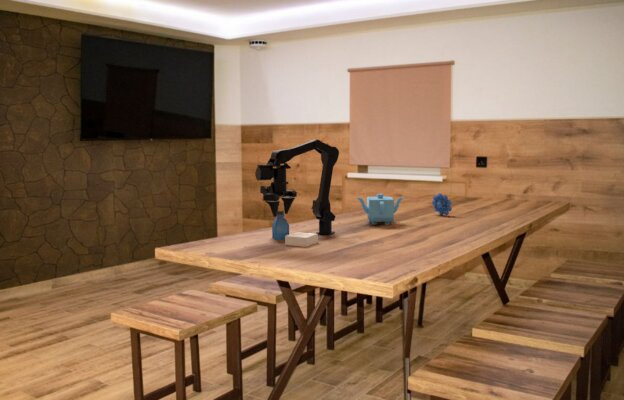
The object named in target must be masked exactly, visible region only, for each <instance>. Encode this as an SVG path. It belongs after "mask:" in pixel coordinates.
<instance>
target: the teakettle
mask: <svg viewBox="0 0 624 400" xmlns="http://www.w3.org/2000/svg"><path fill="white" fill-rule="evenodd" d="M405 198H406V197H405V196H404V197H402V196H401V197H398V198H397V199H396V201H395V199H394V198H393V197H391V196H385V195H384V193H377V194H376V196H367V199H366V200H367V205H366V203H365V200H364V198H362V197H356V199H357V200H358V201H359V202H360V204H361V207H362V210H363V212H364V213H365V214H367V219H368V221H369V223H370V226H371V225H372V226H373V225H374V226H375V225H377V224H378V223H379V222H381V223H384V224H385V225H387V226H389V225H392V223H391V222H395V218H394V217H395V213H396V212H397V211H398V210H399V207H400V203H401V201H402V200H403V199H405Z"/></svg>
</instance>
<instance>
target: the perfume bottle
mask: <svg viewBox="0 0 624 400" xmlns="http://www.w3.org/2000/svg"><path fill="white" fill-rule="evenodd" d="M284 217H285V211H284V210H278V212H277V215H276V217H274V219H273V221H272V223H271V234H272V237H271V238H272V239H273V240H274V241H285V236H286V235H290V224H289V221H287V219H286V218H284Z"/></svg>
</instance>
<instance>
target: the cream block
mask: <svg viewBox="0 0 624 400" xmlns="http://www.w3.org/2000/svg"><path fill="white" fill-rule="evenodd" d="M284 242H285V243H284V245H285V246H295V247H306V248H307V247H310V246H312V245H315V244H318V243H319V234H316V233H309V232H300V231H299V232H298V231H296V232H294V233H289V235H286V236H285V240H284Z"/></svg>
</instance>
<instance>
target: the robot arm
mask: <svg viewBox="0 0 624 400" xmlns="http://www.w3.org/2000/svg"><path fill="white" fill-rule="evenodd" d="M314 150H315V151H316V152H317V153H318V154H319V155H320V160H321V164H322V168H321V175H320V176H321V177H320V181H319V183H320V184H319V190H318V196H317V198H316V199H313V200H312V206H311V207H310V208H311V211H312V214H313V215H314V216H315V219H316V220H318V231H317V232H315V234H318V235H325V236H328V235H329V236H330V235H333V234H335V233H336V232H335V231H333V229H332V226H333V225H332V224H333V223H332V222H335V220H336V215H335V214H334V213H333V212H332V211H331V202H330V191H331V184H332V179H333V171H334V167H335V165H336V164H337V162H338V159H339V156H340V150H339V148H337V147H336V146H332V145H329V144H327V143H325V142H323V141H322V140H320V139H311V140H309V141H307V142H303V143H302V144H298V145H296V146H295V145H294V146H293V147H290V148H283V149H277V150H276V149H275V150H273V151H272V152H271V154H270V157H269V159H268V161H267V162H266V164H257V167H256V169H255V175H254V176H255V179H256V181H258V182H262V181H271V180H272V181H271V182H270V185H269V186H268V185H266V184H265V185H261V186H260V190H259V191H260V192H259V193H260V194H261V195H263V196H262V201H264V203H267V204H268V205H269V208H270V210H271V213H272V216H273V218H277V216H276V215H277V212H278V211H279V206H280V202H281V201H282V202H283V209H284V210H283V211H284V215H288V214H289V210H290V209H291V207H292V204H293V203H294V201H295V200H296V197H297V194H298V192H296V190H293V189H291V190H290V189H288V188H287V185H289V181H287V170H288V169H291V168H292V167H291V165H289V163H288V162H289V161H291V160H292V159H293V158H295V157H297V156H300V155H303V154H305V153H308V152H312V151H314ZM280 200H281V201H280Z"/></svg>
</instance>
